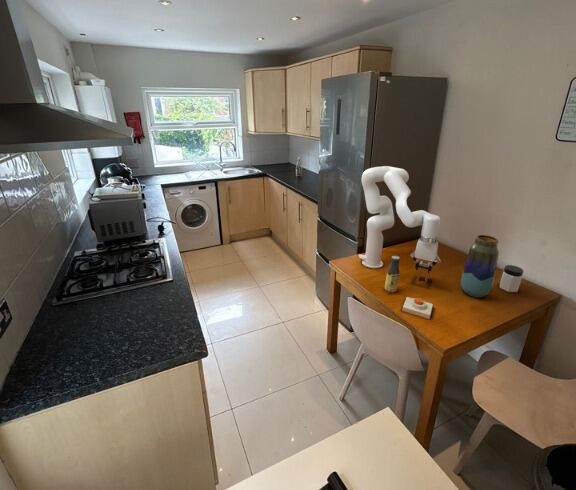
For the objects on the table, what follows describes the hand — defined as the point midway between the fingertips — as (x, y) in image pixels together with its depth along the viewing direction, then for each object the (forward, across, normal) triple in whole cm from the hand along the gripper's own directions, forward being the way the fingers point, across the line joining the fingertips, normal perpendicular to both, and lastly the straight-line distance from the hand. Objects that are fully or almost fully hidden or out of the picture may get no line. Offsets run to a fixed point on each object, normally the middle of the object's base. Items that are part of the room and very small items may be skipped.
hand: (422, 270), depth 158 cm
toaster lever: (+1, 0, -4) cm, 4 cm away
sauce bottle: (+11, +13, +11) cm, 20 cm away
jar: (+11, -41, -25) cm, 49 cm away
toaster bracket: (+11, 0, -8) cm, 14 cm away
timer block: (+11, -2, +20) cm, 23 cm away
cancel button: (+8, -2, +20) cm, 21 cm away
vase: (+11, -25, -10) cm, 29 cm away
